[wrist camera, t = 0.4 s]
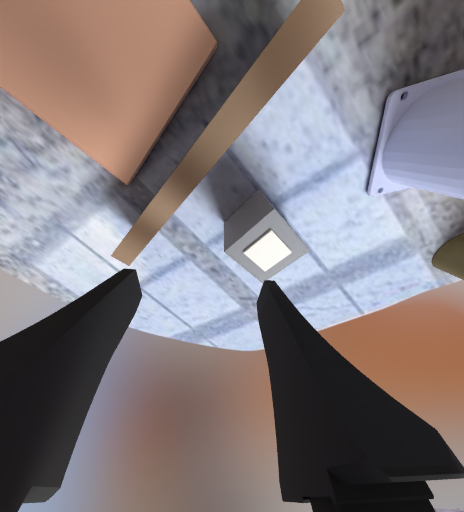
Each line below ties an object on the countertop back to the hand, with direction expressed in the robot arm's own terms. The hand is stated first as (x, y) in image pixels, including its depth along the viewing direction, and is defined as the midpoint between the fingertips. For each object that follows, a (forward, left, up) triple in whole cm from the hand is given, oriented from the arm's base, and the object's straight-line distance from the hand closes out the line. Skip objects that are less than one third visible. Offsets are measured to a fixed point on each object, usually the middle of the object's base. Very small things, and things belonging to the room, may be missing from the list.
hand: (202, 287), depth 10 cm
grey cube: (-5, +2, -10) cm, 11 cm away
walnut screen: (-1, -5, -10) cm, 11 cm away
